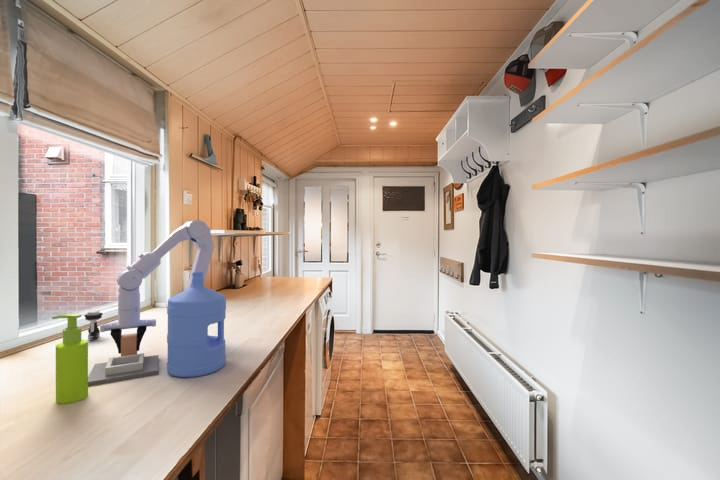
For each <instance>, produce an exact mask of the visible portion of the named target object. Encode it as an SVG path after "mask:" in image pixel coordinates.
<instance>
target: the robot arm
mask: <svg viewBox="0 0 720 480" xmlns="http://www.w3.org/2000/svg"><path fill="white" fill-rule="evenodd" d="M185 241H191V242H192V243H193V244H194V246H195V247H196V252H195V253H196V254H195V257H194V260H193V264H192V267H191V271H190V275H189V278H188V281H187V285H186V289H185V290H187V289H189V288H190V287H191V286H192V273H196V272H202V273H204V274H203V278H204V280H203V285H204V286H205V282H206V278H207V274H208V271H209V266H210V264H211V260H212V256H213V253H214V248H215V245H214V240H213V236H212V233H211V228H210V227H209V226H208V225H207V223H206V222H204V221H203V220H201V219H196V220H187V221H186V222H184V223H183V225H180V226H178V228H176V229H175V230H173V232H171V234H169V236H167V238H165V239H164V240H163V241H162V242H161V243H160V244H159V245H158V246H157V247H156V248H155V249H153V251H146V252H145V253H140V254H139V255H138V259H136V260H135V261H134V262H133V263H132V264H131V265H128V266H126V269H127V270H126V269H125V270H124V271H122V272H121V273H119V275H117V278H116V283H117V284H118V295H117V296H118V297H117V301H118V302H117V304H118V305H117V307H118V308H117V311H118V312H117V317H118V318H117V322H110V323H109V322H108V323H104V324H100V326H99V330H100V333H105V332H110V333H109V334H110V336H111V337H112V340H114V343H115V345H116V348H117V350H118V352H117V353H118V354H120V355H121V336H122V335H123V334H122V332H123V331H122V330H127V329H128V330H129V329H136V333H137V347H136V350H137V352H139V351H140V347H141V343H142V339H143V337H144V335H145V334H146V331H147V327H156V325H157V319H156V318H155V319H154V318H153V319H152V318H151V319H141V293H140V287H141V285H142V284H143V283H142V282H143V280H144V279H146V278H147V277H148V276H149V275H150V274H152V272H154V271H155V270H156V269H157V268H158V267H159V266H160V265H161V263H162V262H161V259H162V258H163V257H164V256H165V255H167V253H169V252H170V251H171V250H173V248H175V247H176V246H177V245H178V244H179V243H181V242H185Z"/></svg>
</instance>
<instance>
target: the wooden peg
mask: <svg viewBox="0 0 720 480" xmlns="http://www.w3.org/2000/svg"><path fill="white" fill-rule="evenodd" d="M136 347H137V332H134V333H125V334H122V335H121V353H120V357H121V356H128V355H135V354H138V351H137V350H136Z"/></svg>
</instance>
